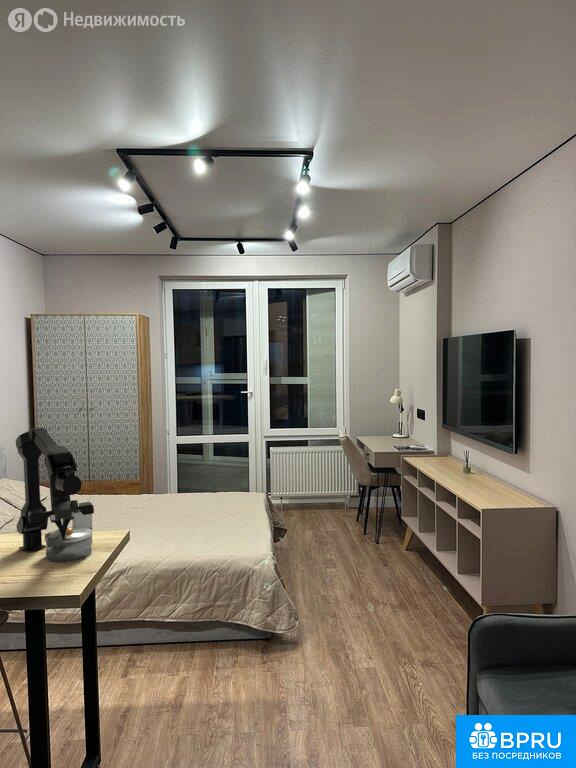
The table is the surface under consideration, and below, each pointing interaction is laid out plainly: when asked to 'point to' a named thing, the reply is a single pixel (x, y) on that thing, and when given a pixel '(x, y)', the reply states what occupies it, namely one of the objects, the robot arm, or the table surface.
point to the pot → (69, 551)
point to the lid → (67, 536)
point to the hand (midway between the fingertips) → (63, 539)
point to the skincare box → (82, 521)
